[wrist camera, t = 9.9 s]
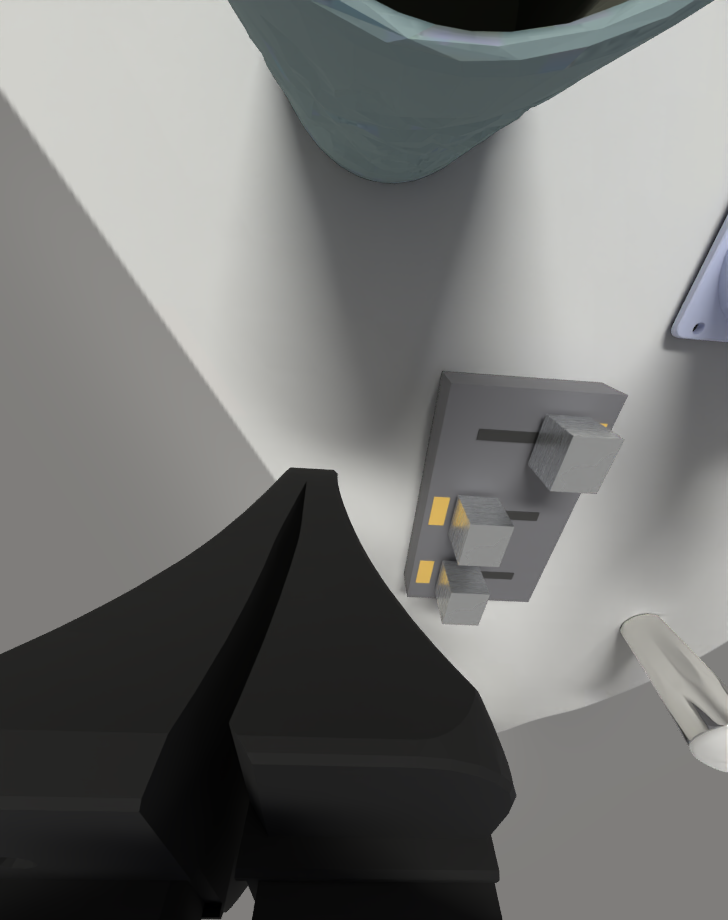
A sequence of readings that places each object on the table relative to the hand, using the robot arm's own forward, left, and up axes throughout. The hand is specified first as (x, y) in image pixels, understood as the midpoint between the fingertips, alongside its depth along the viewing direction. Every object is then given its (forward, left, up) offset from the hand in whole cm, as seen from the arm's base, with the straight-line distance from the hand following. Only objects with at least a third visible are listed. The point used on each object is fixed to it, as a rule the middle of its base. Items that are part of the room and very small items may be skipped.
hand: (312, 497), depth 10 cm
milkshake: (-26, +18, -10) cm, 33 cm away
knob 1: (-8, +6, -7) cm, 13 cm away
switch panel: (-10, +6, -9) cm, 15 cm away
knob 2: (-8, +11, -7) cm, 16 cm away
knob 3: (-11, +1, -7) cm, 14 cm away
